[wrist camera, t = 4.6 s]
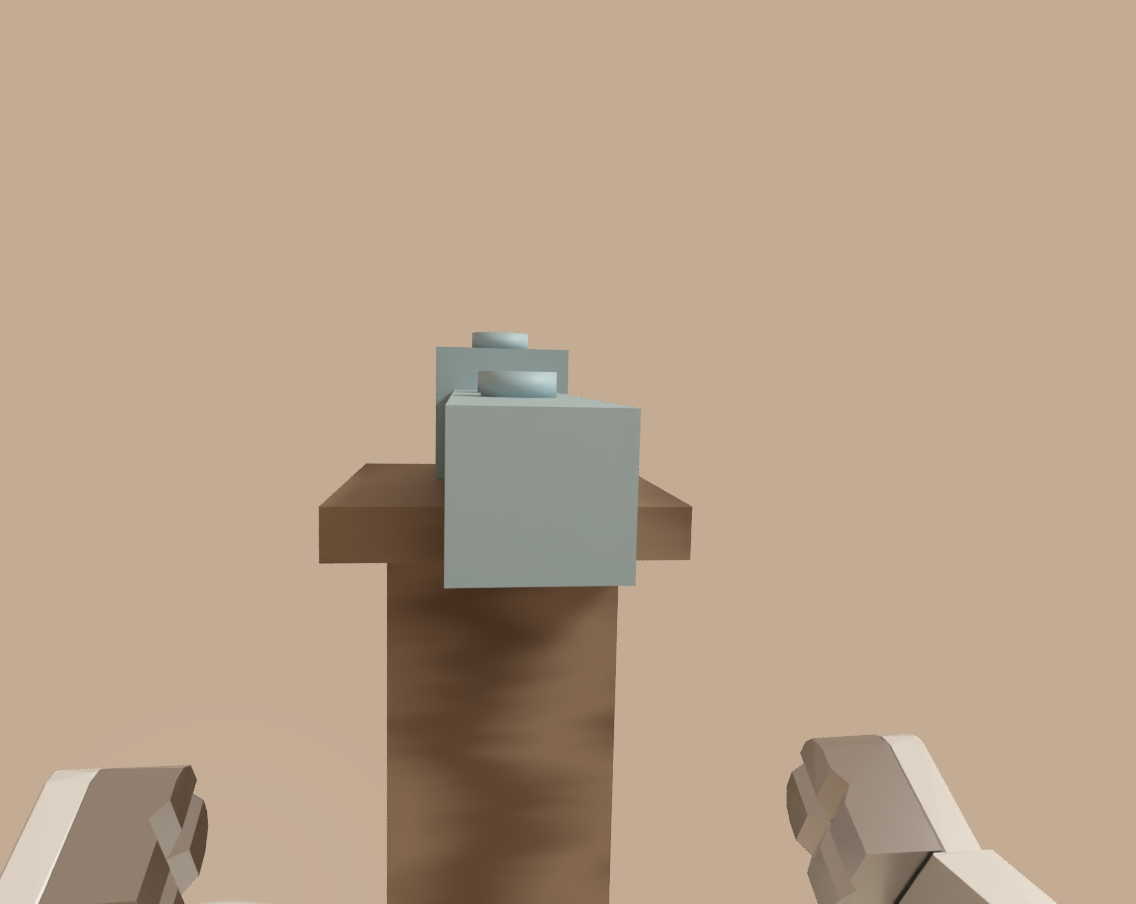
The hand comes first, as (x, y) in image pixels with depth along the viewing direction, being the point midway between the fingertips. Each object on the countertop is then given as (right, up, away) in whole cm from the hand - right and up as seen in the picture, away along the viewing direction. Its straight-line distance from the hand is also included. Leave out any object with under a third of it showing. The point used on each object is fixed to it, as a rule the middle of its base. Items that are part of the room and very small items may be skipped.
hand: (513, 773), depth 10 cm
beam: (-1, +3, +11) cm, 12 cm away
